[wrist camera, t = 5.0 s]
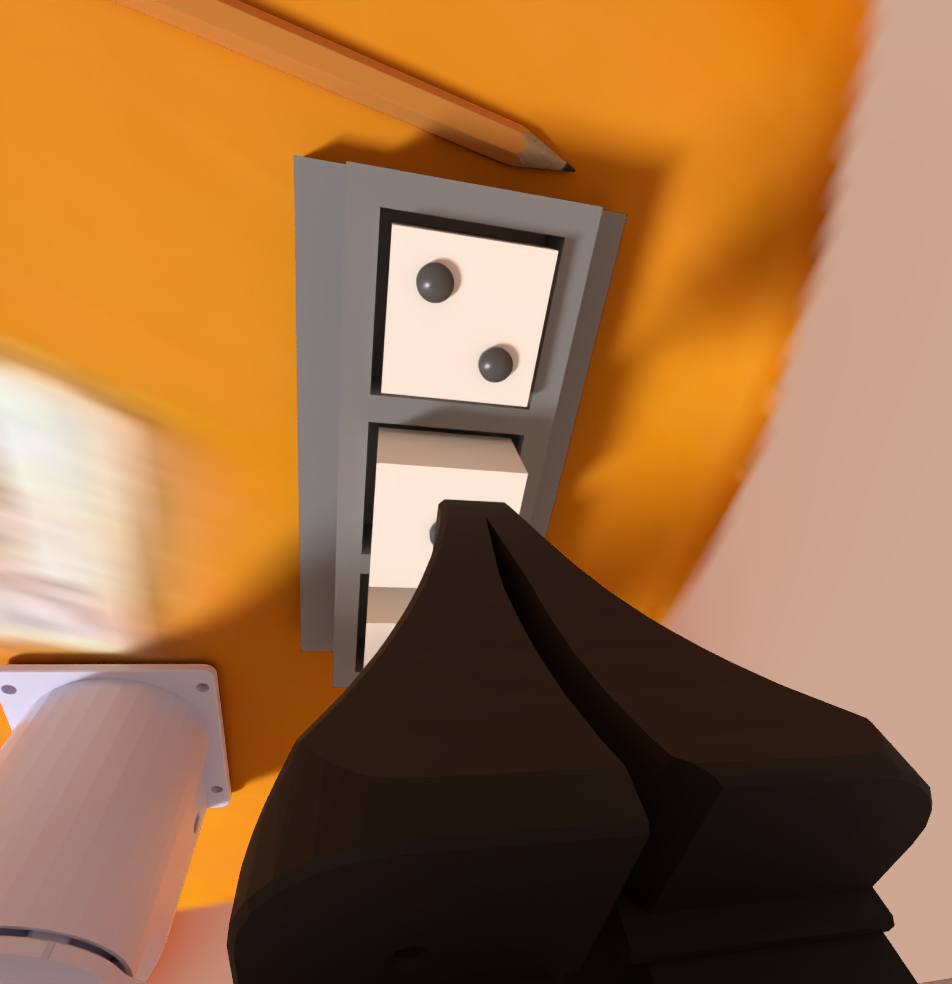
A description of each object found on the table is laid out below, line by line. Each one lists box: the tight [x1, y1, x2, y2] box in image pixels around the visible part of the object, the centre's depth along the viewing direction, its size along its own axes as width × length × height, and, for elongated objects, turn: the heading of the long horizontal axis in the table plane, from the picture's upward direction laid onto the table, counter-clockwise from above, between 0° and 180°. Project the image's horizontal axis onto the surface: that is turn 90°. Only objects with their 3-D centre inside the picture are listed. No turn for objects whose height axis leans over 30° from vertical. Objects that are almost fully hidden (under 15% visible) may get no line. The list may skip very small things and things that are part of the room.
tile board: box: [294, 155, 627, 687], centre depth 18 cm, size 17×9×3 cm, turn 171°
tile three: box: [363, 574, 417, 669], centre depth 18 cm, size 4×4×3 cm
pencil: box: [111, 0, 575, 172], centre depth 12 cm, size 1×1×19 cm
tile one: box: [369, 427, 528, 588], centre depth 16 cm, size 4×4×3 cm
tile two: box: [381, 221, 558, 407], centre depth 14 cm, size 4×4×3 cm
